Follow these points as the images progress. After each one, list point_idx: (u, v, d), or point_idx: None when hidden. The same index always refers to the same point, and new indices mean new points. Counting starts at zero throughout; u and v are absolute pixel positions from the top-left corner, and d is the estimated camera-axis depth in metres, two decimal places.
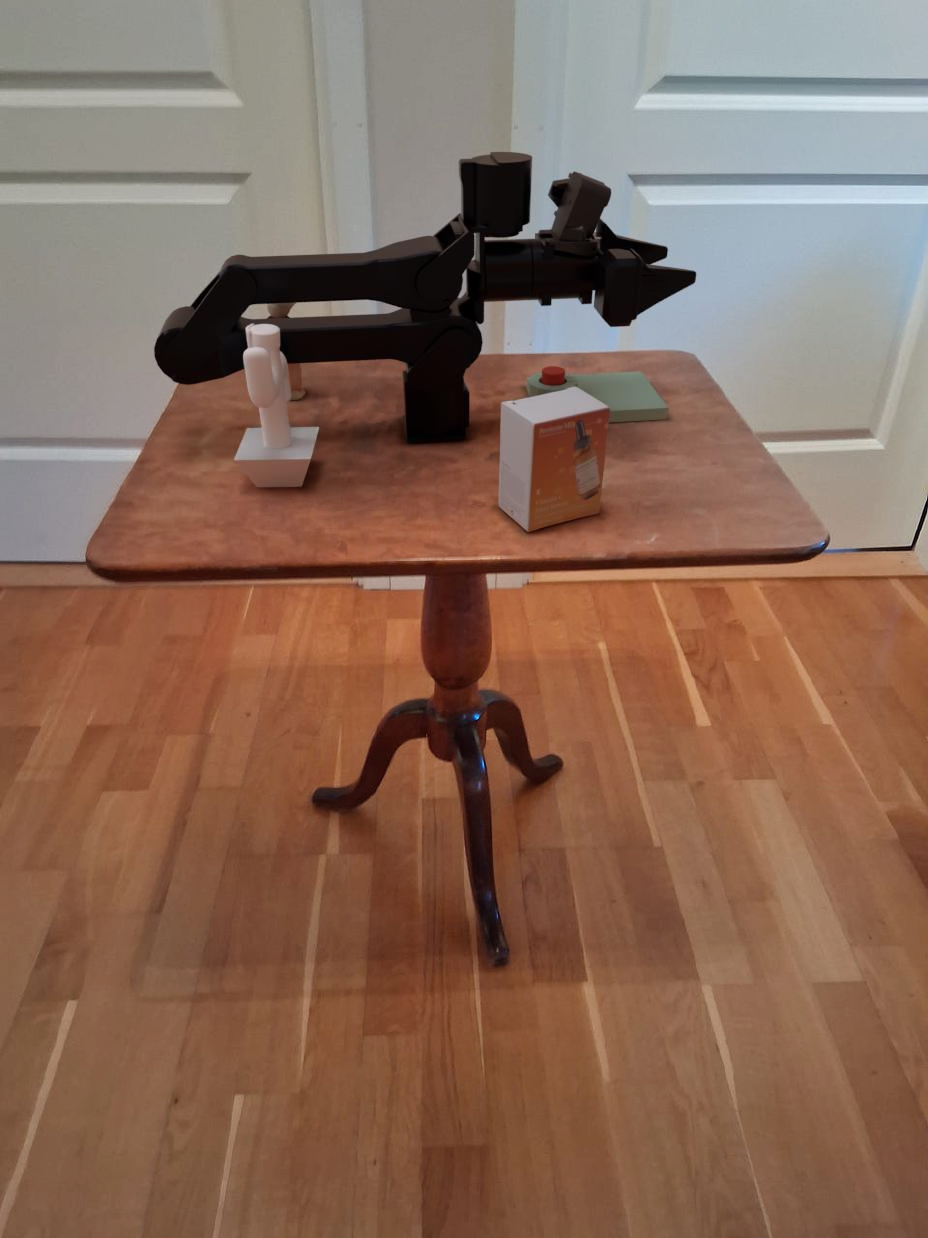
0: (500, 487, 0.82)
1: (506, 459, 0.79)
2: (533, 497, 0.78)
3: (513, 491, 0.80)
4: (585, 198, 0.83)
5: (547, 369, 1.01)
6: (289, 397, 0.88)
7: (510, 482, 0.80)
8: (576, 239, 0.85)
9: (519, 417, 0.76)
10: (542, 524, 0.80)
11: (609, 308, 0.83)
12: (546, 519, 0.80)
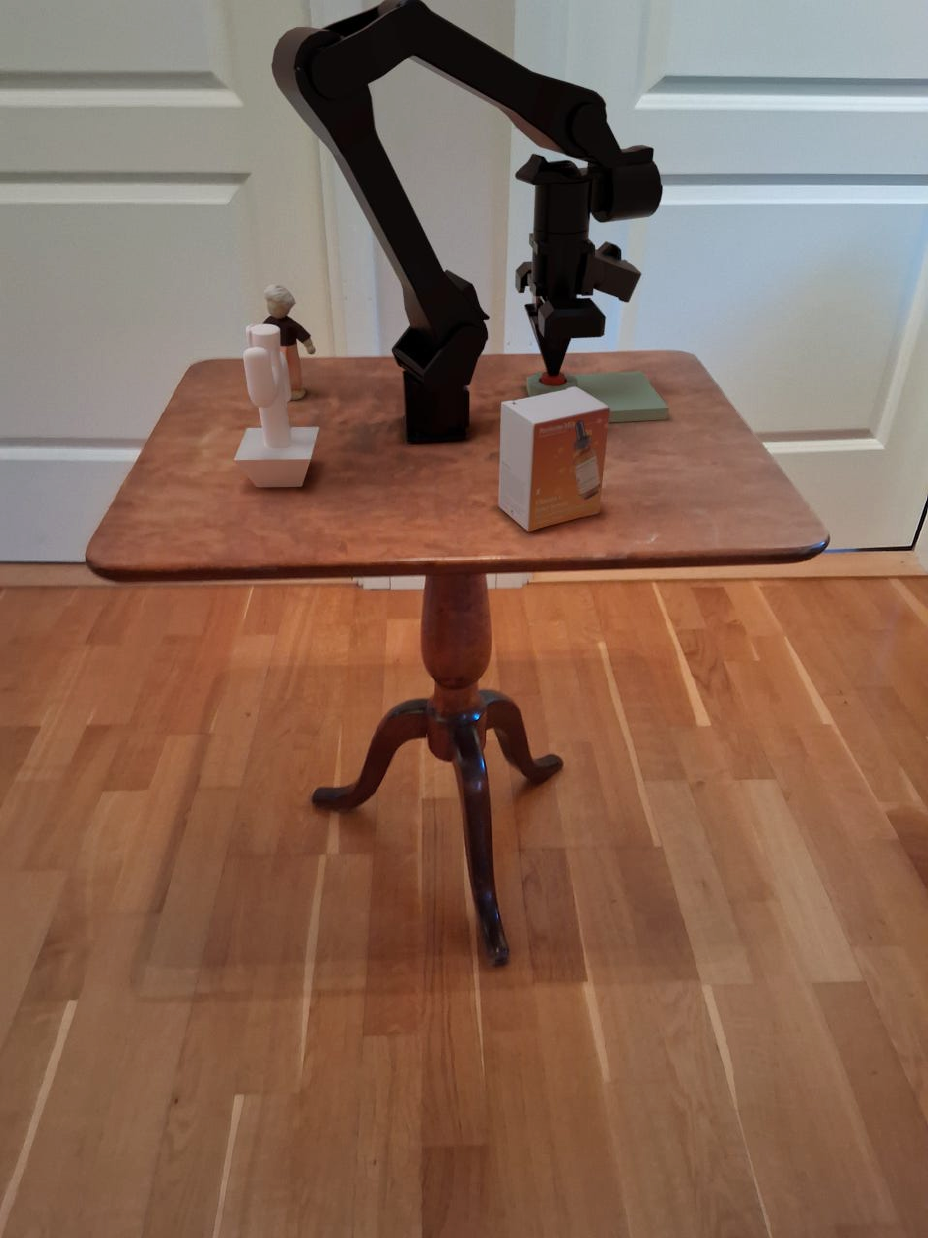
0: (500, 487, 0.82)
1: (506, 458, 0.79)
2: (533, 497, 0.78)
3: (513, 491, 0.80)
4: (628, 279, 0.93)
5: (547, 373, 1.01)
6: (289, 397, 0.88)
7: (510, 482, 0.80)
8: (595, 274, 0.92)
9: (519, 417, 0.76)
10: (542, 524, 0.80)
11: (564, 316, 0.88)
12: (546, 519, 0.80)
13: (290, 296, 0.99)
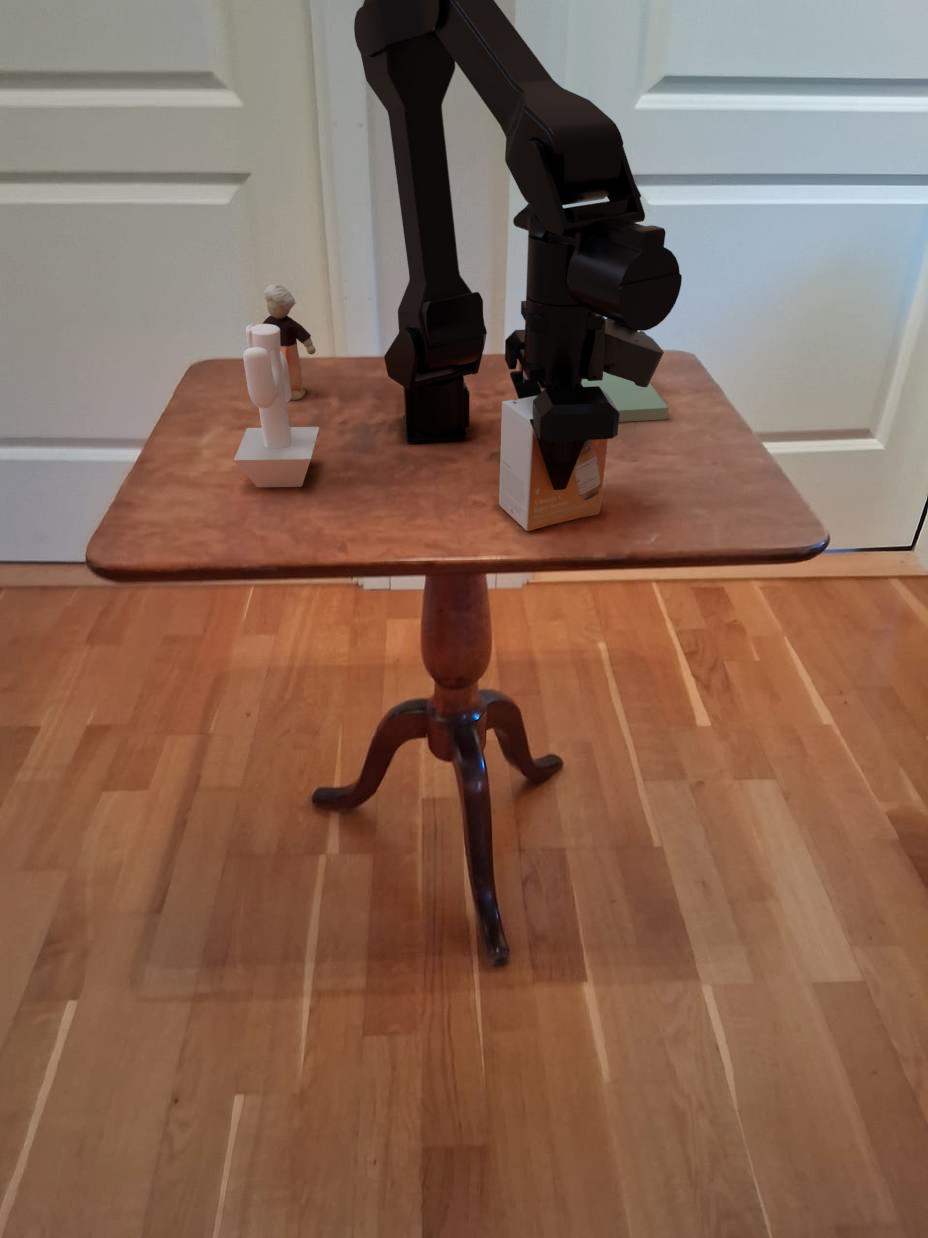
0: (501, 486, 0.82)
1: (507, 458, 0.80)
2: (532, 497, 0.78)
3: (513, 490, 0.80)
4: (646, 359, 0.73)
5: None
6: (289, 397, 0.88)
7: (510, 481, 0.80)
8: (605, 354, 0.72)
9: (519, 417, 0.76)
10: (541, 523, 0.80)
11: (566, 413, 0.68)
12: (545, 519, 0.80)
13: (290, 296, 0.99)
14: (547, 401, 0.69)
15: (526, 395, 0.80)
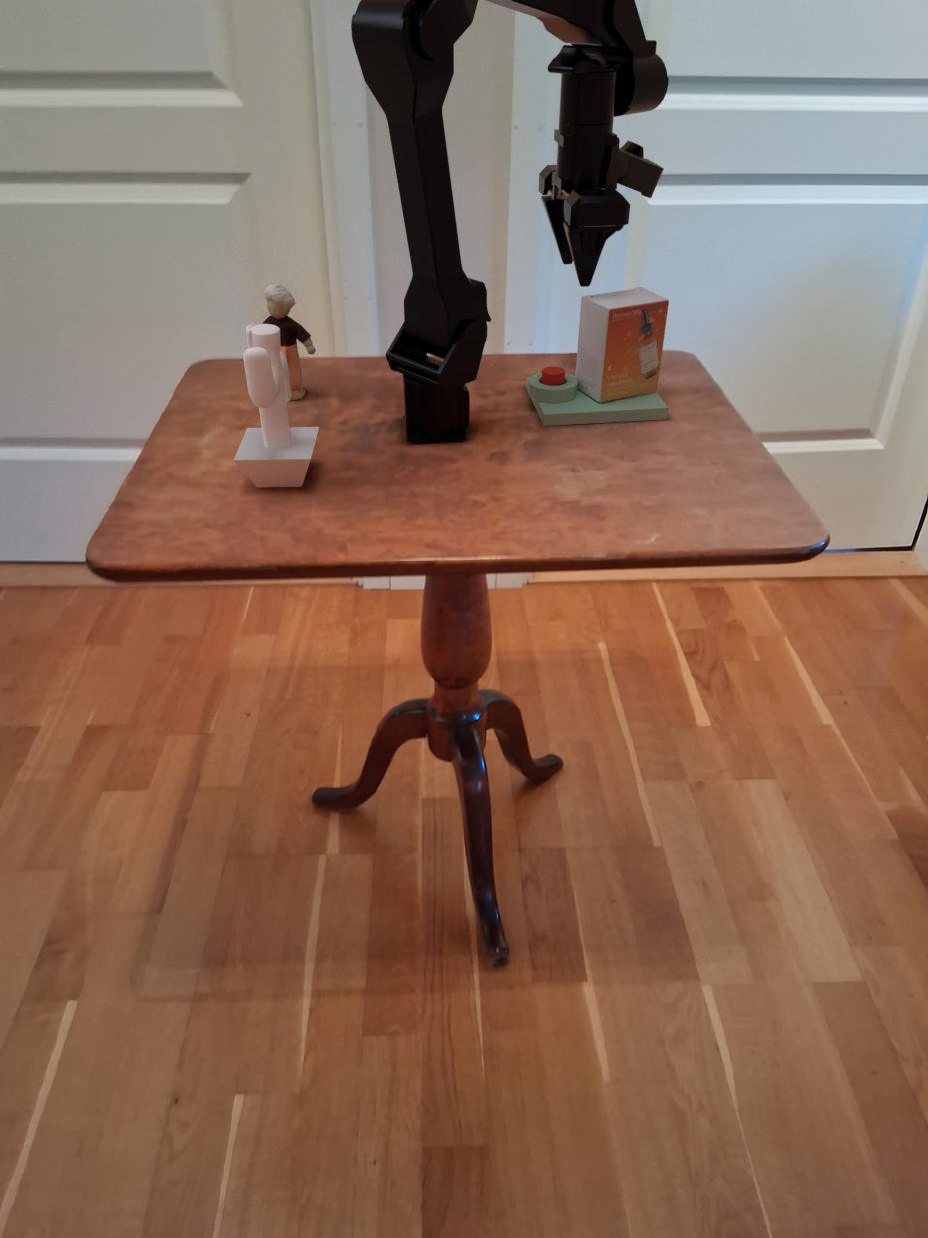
0: (577, 369, 1.02)
1: (584, 343, 0.99)
2: (605, 372, 0.98)
3: (588, 370, 1.00)
4: (650, 173, 0.96)
5: (547, 369, 1.01)
6: (289, 397, 0.88)
7: (586, 362, 1.00)
8: (619, 167, 0.95)
9: (597, 306, 0.95)
10: (611, 396, 1.00)
11: (590, 202, 0.90)
12: (614, 393, 1.00)
13: (290, 296, 0.99)
14: (576, 195, 0.91)
15: (554, 211, 1.04)
